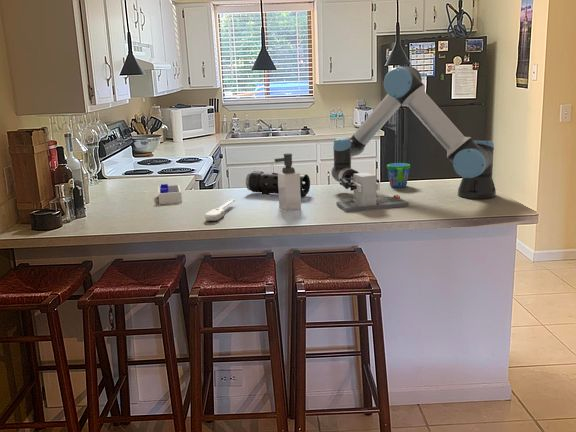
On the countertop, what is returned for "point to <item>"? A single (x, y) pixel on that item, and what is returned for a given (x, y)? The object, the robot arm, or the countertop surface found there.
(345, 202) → the socket strip
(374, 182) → the small box
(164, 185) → the cable clip
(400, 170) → the snack cup
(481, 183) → the robot arm
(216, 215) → the white spoon
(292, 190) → the soap dispenser
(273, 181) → the muzzle brake
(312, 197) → the countertop surface
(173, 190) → the box
